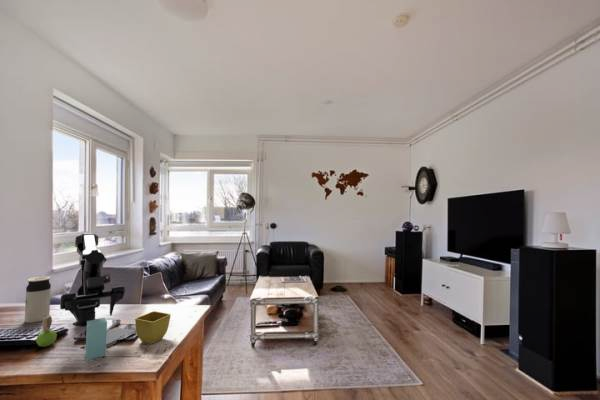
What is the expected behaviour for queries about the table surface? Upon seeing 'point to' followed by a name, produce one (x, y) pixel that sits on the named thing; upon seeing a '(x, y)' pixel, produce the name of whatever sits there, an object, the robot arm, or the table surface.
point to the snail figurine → (46, 333)
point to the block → (96, 338)
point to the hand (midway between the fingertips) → (95, 318)
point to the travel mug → (37, 299)
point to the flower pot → (152, 326)
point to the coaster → (115, 335)
